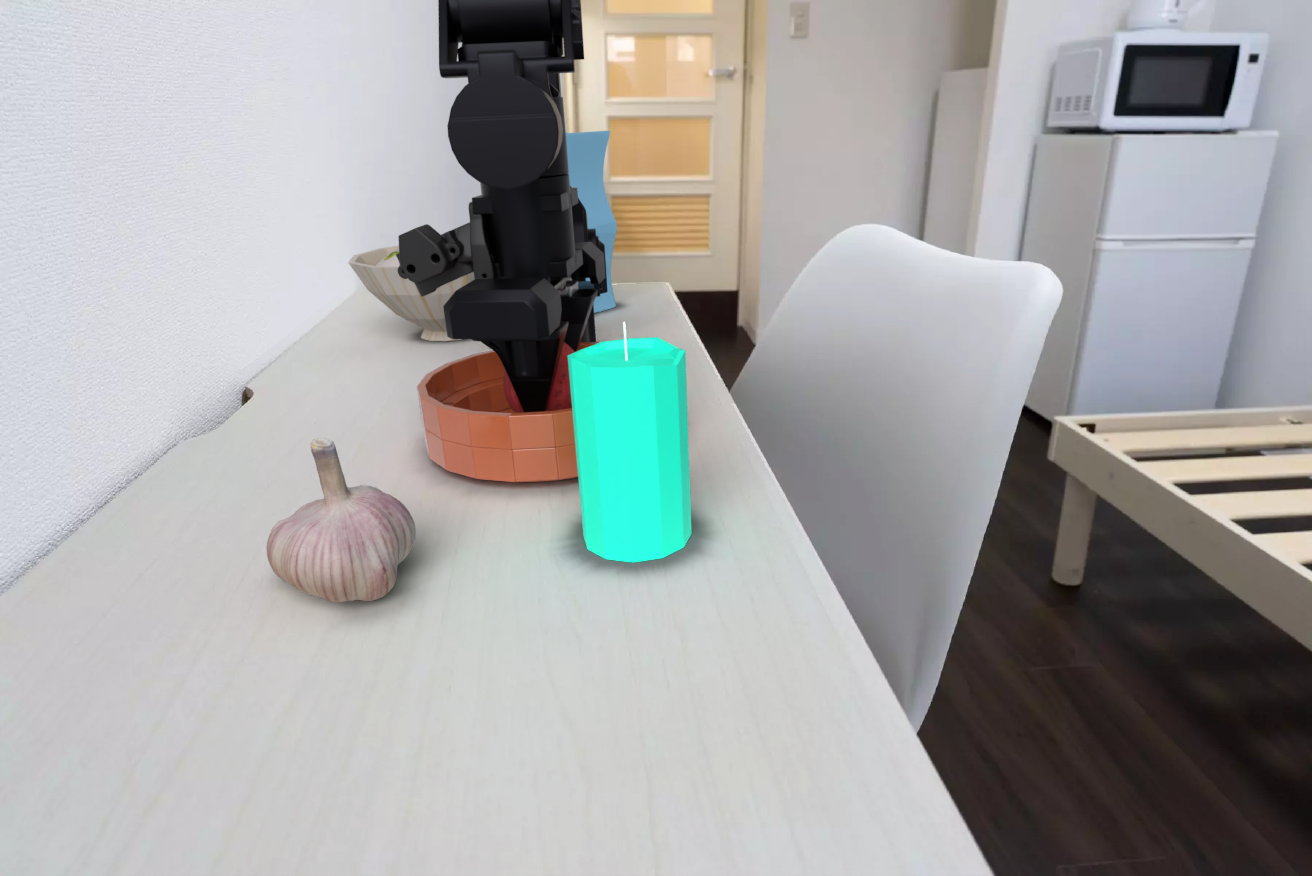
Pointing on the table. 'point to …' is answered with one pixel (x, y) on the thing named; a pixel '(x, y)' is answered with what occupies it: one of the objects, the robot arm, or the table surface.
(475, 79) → the robot arm
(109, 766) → the table surface
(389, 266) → the bowl
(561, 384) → the onion
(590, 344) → the terracotta bowl
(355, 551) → the garlic bulb
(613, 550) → the candle
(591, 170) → the vase
